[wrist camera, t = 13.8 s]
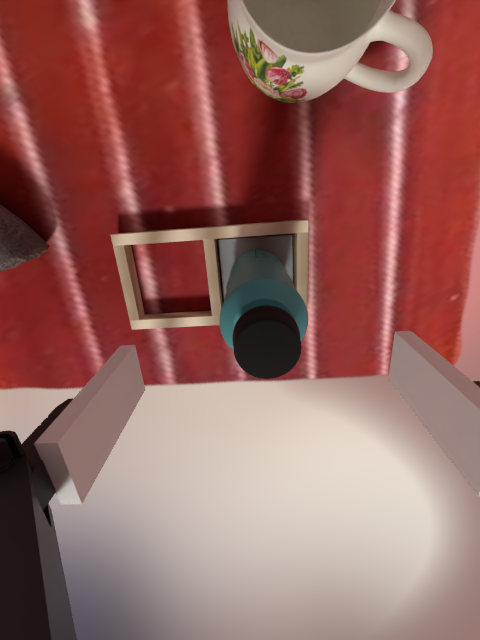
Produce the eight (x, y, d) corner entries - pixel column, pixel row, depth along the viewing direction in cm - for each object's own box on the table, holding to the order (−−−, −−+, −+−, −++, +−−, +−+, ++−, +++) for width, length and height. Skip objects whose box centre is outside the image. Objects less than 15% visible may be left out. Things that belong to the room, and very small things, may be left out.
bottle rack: (137, 323, 39) (131, 329, 37) (118, 233, 35) (110, 234, 33) (304, 314, 37) (307, 320, 36) (305, 219, 33) (308, 220, 31)
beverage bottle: (218, 270, 35) (182, 347, 17) (262, 232, 33) (276, 270, 15) (253, 310, 37) (257, 420, 18) (297, 276, 35) (349, 359, 16)
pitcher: (346, 163, 31) (412, 136, 18) (190, 68, 29) (140, -42, 16) (415, 44, 27) (560, -95, 15) (242, -78, 25) (233, -377, 12)
